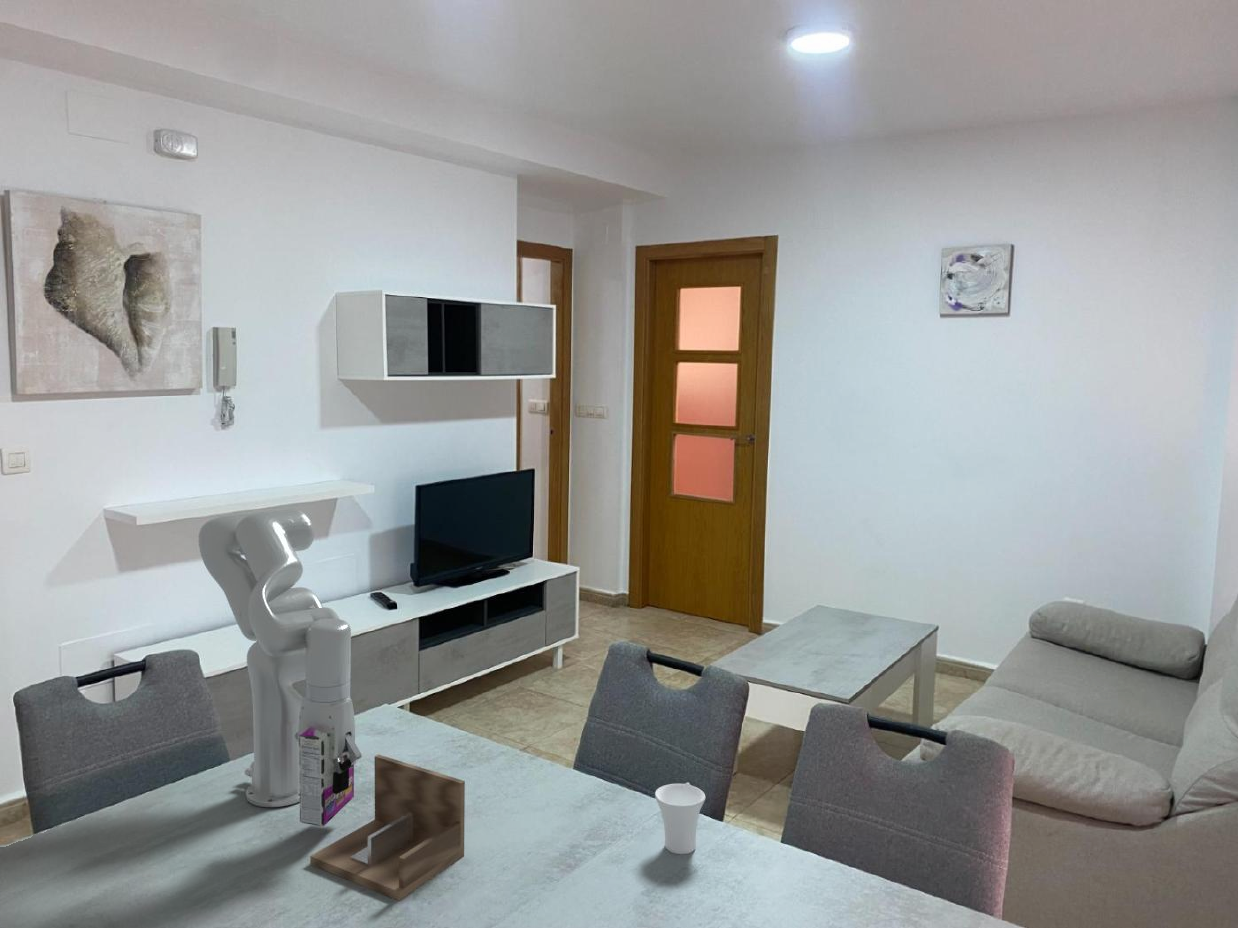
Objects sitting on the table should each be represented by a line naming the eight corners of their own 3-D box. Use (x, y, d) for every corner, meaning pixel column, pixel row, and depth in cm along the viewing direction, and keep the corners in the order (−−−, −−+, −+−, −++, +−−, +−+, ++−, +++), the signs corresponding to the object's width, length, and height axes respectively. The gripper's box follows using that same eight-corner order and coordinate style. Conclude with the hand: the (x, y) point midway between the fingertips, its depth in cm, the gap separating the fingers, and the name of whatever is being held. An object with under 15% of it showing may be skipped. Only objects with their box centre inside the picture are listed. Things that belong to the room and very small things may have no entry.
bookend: (350, 858, 156) (350, 830, 155) (392, 833, 164) (392, 806, 164) (371, 866, 153) (371, 837, 153) (412, 840, 162) (412, 813, 161)
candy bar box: (330, 793, 173) (331, 709, 171) (354, 797, 172) (356, 713, 170) (297, 823, 162) (298, 734, 160) (323, 827, 161) (324, 738, 159)
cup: (710, 839, 168) (712, 787, 167) (692, 864, 159) (694, 808, 158) (665, 828, 171) (667, 776, 170) (645, 851, 163) (647, 797, 162)
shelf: (310, 864, 156) (309, 787, 155) (378, 824, 170) (378, 754, 169) (399, 900, 146) (399, 819, 145) (464, 855, 160) (464, 780, 159)
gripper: (277, 684, 165) (277, 780, 167) (347, 707, 156) (346, 808, 159) (310, 672, 171) (309, 764, 174) (379, 694, 163) (377, 790, 165)
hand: (327, 784), depth 166 cm, fingers closed on candy bar box, 6 cm apart
